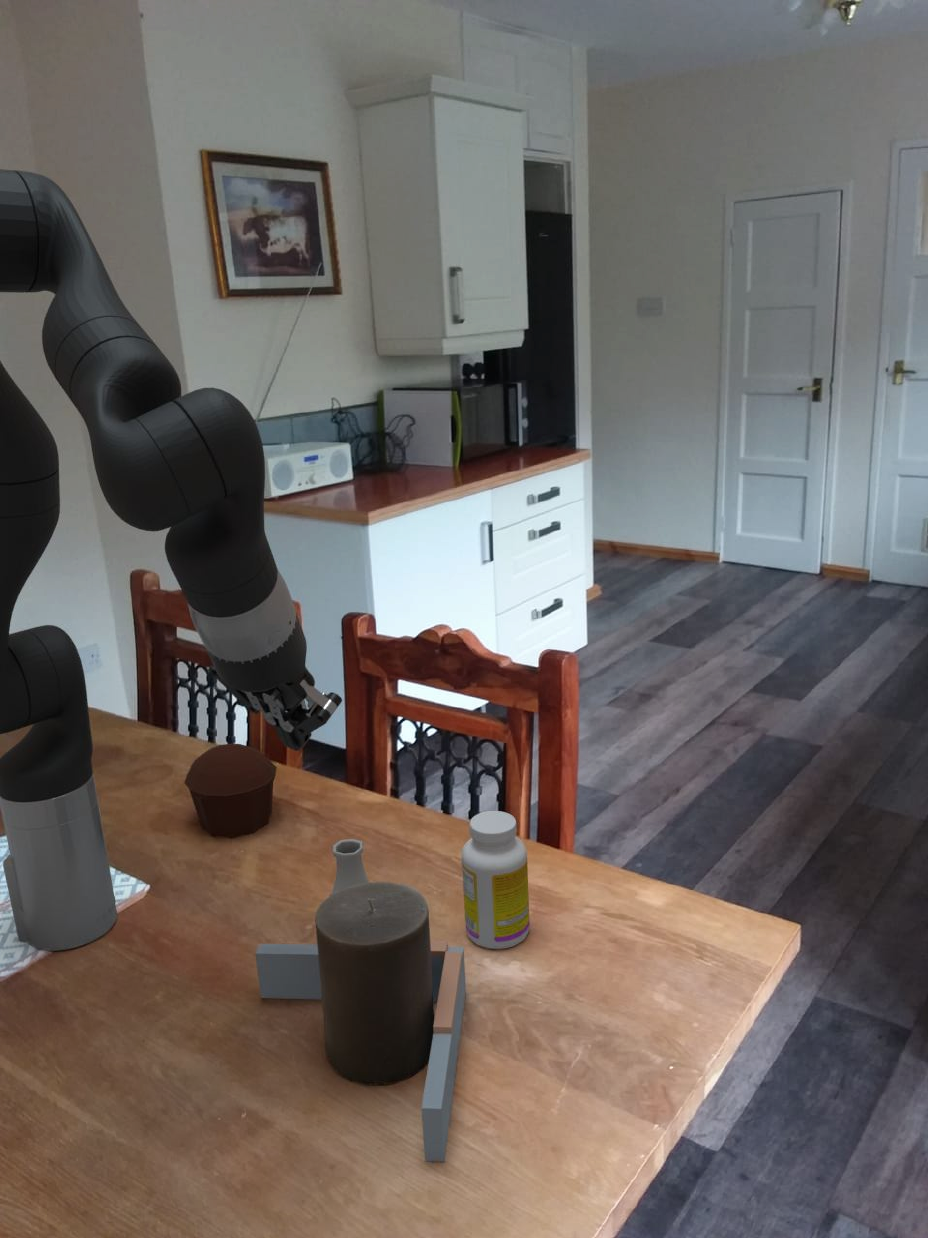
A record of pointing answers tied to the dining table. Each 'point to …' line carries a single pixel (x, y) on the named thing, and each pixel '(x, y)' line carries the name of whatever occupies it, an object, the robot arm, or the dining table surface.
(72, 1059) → the dining table surface
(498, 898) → the supplement bottle
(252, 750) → the muffin
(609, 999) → the dining table surface
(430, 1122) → the corner arena
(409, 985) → the pillar candle
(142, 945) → the dining table surface
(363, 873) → the flask
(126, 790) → the dining table surface
